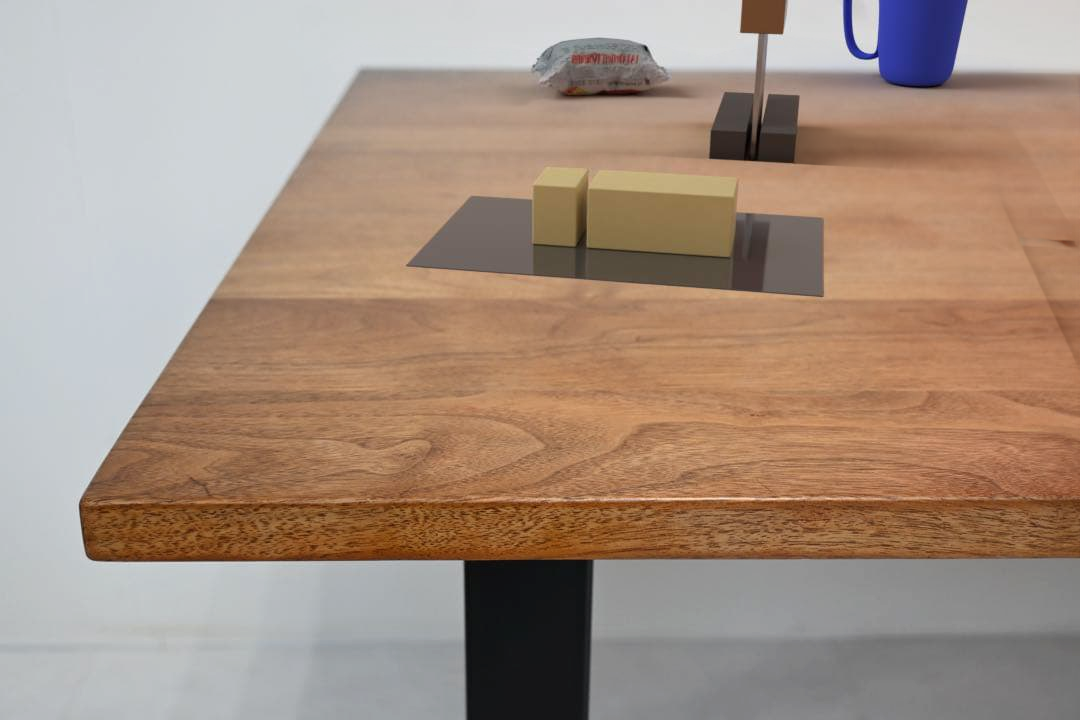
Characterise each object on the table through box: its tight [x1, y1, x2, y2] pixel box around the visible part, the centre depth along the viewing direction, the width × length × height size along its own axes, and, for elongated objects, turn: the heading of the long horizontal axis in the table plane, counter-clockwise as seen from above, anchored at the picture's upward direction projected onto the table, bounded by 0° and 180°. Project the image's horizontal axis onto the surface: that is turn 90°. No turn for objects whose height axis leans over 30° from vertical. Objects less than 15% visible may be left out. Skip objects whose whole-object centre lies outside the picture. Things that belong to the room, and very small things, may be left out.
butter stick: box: [587, 169, 740, 258], centre depth 71 cm, size 8×4×4 cm, turn 78°
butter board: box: [405, 195, 824, 298], centre depth 72 cm, size 22×14×1 cm, turn 78°
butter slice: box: [532, 166, 590, 247], centre depth 72 cm, size 2×4×4 cm, turn 168°
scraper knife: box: [739, 0, 789, 160], centre depth 94 cm, size 3×10×12 cm, turn 168°
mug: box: [842, 0, 969, 87], centre depth 121 cm, size 8×12×10 cm
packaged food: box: [530, 37, 673, 96], centre depth 114 cm, size 9×12×5 cm
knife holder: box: [708, 91, 801, 165], centre depth 96 cm, size 6×14×3 cm, turn 168°
